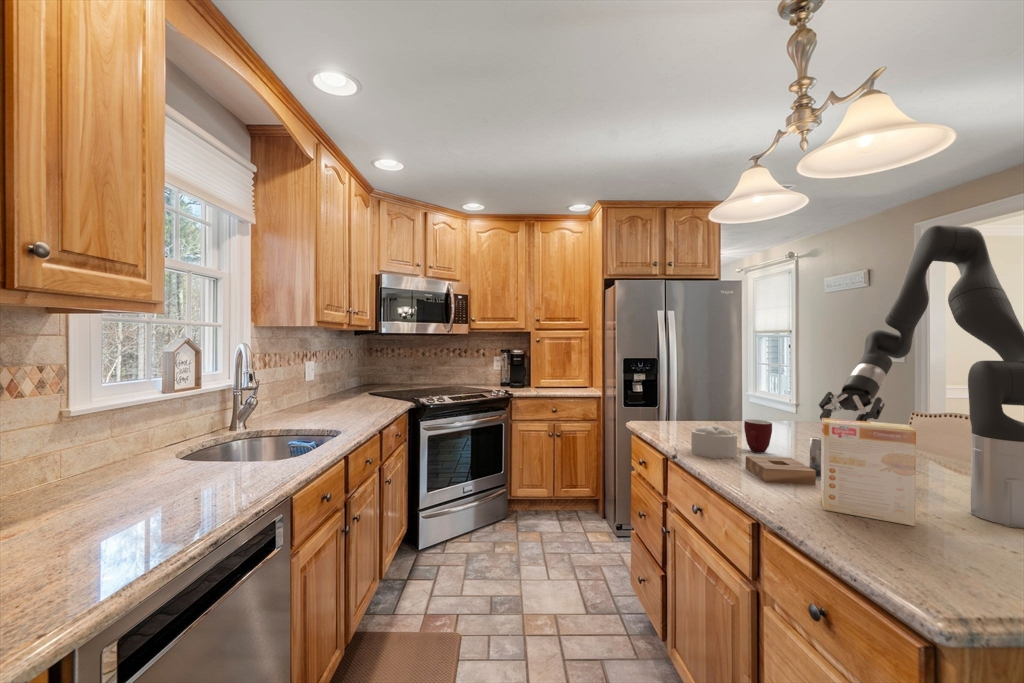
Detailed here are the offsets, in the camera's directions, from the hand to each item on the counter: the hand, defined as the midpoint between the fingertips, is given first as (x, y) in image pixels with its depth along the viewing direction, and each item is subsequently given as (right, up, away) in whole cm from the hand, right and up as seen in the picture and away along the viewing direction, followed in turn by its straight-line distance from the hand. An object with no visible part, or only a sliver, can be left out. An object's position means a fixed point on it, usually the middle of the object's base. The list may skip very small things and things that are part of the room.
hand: (839, 424), depth 117 cm
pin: (-9, -13, -4) cm, 16 cm away
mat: (-9, -14, -4) cm, 17 cm away
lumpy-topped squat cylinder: (-27, -14, +18) cm, 35 cm away
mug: (-11, -14, +21) cm, 27 cm away
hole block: (-21, -13, -5) cm, 25 cm away
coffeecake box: (-17, -14, -28) cm, 35 cm away
